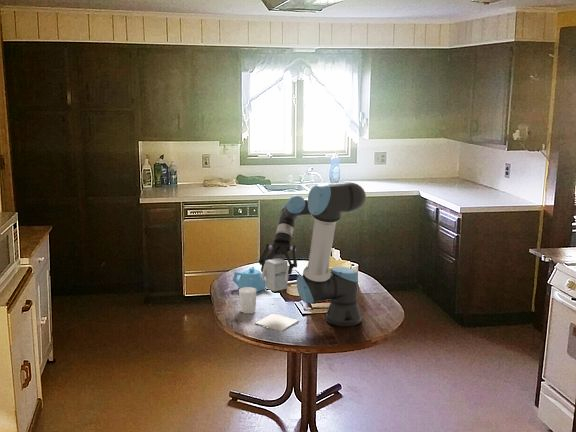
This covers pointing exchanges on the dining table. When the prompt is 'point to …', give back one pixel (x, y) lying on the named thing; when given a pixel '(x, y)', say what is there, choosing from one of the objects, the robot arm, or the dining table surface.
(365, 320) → the dining table surface
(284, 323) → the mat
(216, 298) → the dining table surface
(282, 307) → the dining table surface
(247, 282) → the teapot
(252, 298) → the white cup
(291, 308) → the dining table surface
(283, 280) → the supplement box
